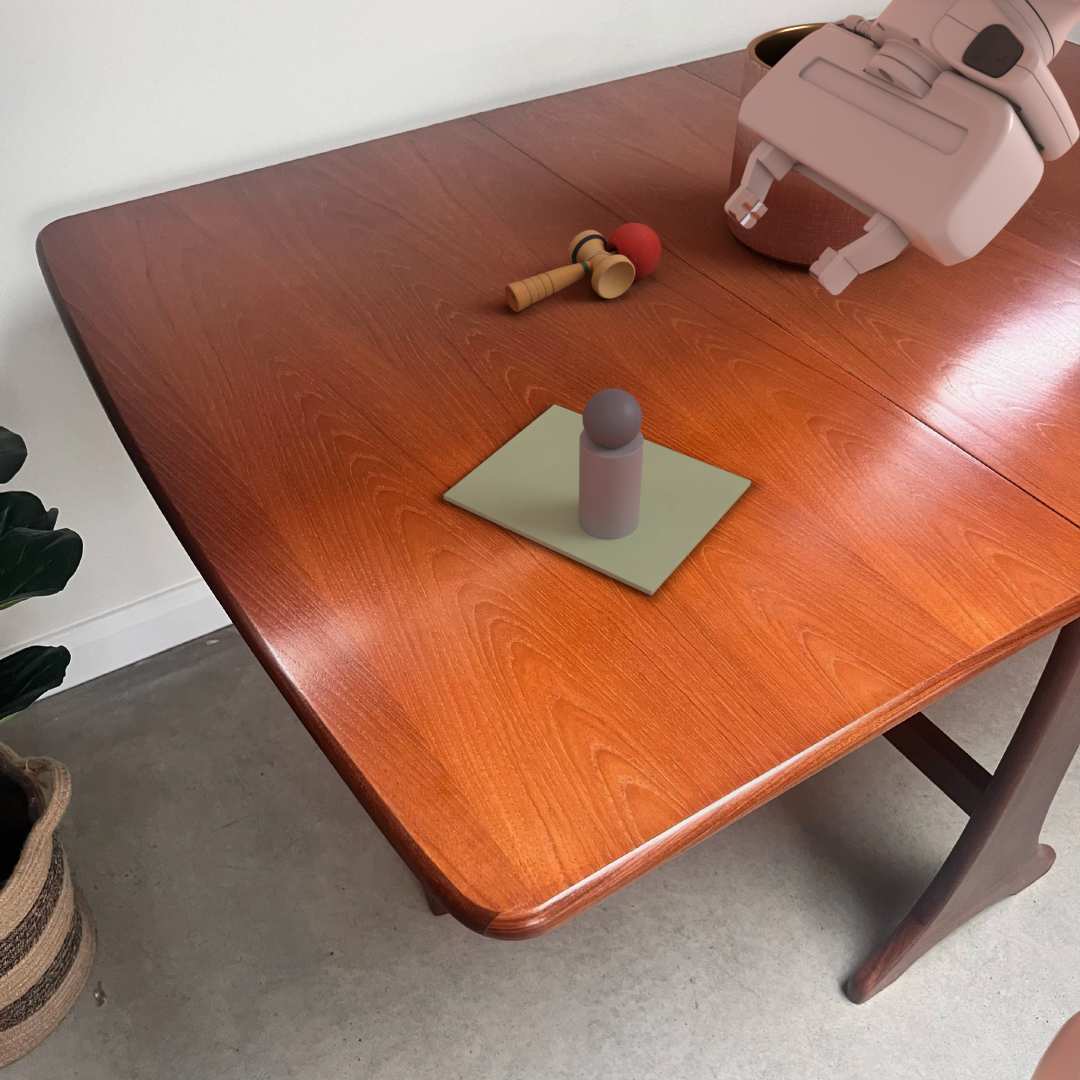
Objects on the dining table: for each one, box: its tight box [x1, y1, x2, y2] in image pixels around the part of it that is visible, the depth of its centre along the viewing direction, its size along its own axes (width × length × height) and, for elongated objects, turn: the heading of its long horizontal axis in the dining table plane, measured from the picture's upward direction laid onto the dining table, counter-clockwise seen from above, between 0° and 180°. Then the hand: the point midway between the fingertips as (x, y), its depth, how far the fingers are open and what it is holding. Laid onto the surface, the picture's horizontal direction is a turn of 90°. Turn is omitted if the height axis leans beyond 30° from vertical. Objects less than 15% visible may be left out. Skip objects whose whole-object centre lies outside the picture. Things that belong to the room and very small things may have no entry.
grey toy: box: [579, 387, 645, 539], centre depth 79 cm, size 5×5×12 cm
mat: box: [443, 403, 752, 596], centre depth 86 cm, size 20×16×1 cm
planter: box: [726, 21, 914, 269], centre depth 115 cm, size 22×22×20 cm
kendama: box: [504, 222, 662, 313], centre depth 111 cm, size 8×6×18 cm
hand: (775, 250), depth 62 cm, fingers open, 8 cm apart
